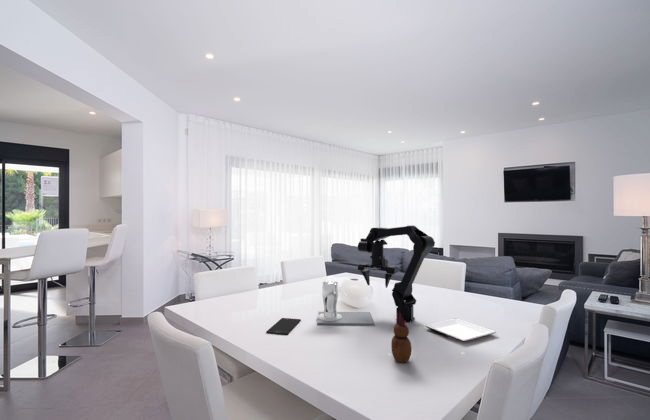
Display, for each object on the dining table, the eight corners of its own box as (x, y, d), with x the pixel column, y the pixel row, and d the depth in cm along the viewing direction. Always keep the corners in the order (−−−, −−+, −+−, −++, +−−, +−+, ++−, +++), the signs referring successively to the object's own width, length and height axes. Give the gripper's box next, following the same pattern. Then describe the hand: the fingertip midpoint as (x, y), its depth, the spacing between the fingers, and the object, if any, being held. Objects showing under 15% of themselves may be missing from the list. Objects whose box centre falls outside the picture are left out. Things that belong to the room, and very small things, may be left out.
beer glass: (330, 320, 137) (330, 284, 137) (319, 316, 142) (319, 282, 142) (341, 316, 142) (341, 282, 142) (330, 313, 147) (329, 280, 147)
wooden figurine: (389, 355, 104) (389, 309, 104) (406, 355, 105) (406, 309, 105) (395, 365, 97) (395, 315, 98) (413, 364, 98) (413, 315, 98)
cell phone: (265, 334, 124) (265, 331, 124) (282, 319, 142) (282, 317, 142) (287, 336, 122) (287, 333, 122) (301, 321, 140) (301, 319, 140)
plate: (463, 346, 113) (463, 340, 113) (424, 329, 129) (424, 324, 129) (496, 336, 122) (496, 331, 122) (455, 322, 138) (455, 317, 138)
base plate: (370, 313, 149) (370, 311, 149) (374, 325, 133) (374, 322, 133) (318, 313, 150) (318, 311, 150) (316, 324, 134) (316, 322, 134)
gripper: (402, 253, 155) (402, 285, 155) (366, 251, 165) (366, 281, 165) (393, 255, 146) (393, 290, 145) (357, 253, 156) (357, 285, 155)
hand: (377, 286), depth 153 cm, fingers open, 9 cm apart
